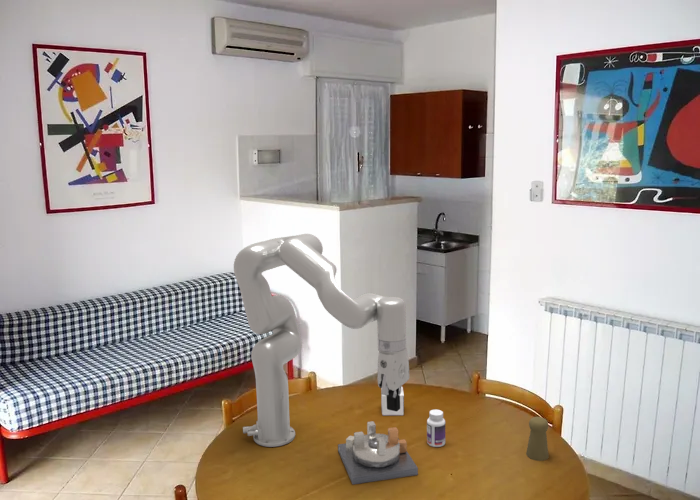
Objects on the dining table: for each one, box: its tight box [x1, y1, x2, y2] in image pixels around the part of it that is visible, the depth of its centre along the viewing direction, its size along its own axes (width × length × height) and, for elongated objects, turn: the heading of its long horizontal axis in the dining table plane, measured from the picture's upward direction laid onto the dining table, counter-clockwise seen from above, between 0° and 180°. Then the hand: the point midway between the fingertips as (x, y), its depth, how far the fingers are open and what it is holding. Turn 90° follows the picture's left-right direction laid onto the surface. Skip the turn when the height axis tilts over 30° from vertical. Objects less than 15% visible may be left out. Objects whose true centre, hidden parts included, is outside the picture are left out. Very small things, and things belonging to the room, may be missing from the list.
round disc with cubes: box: [353, 420, 408, 467], centre depth 167 cm, size 15×13×7 cm
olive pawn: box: [525, 416, 550, 462], centre depth 170 cm, size 6×6×11 cm
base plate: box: [337, 435, 419, 485], centre depth 168 cm, size 18×18×6 cm
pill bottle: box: [426, 409, 446, 448], centre depth 178 cm, size 5×5×10 cm
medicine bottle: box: [380, 385, 405, 416], centre depth 199 cm, size 7×7×12 cm
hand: (393, 409), depth 162 cm, fingers closed
